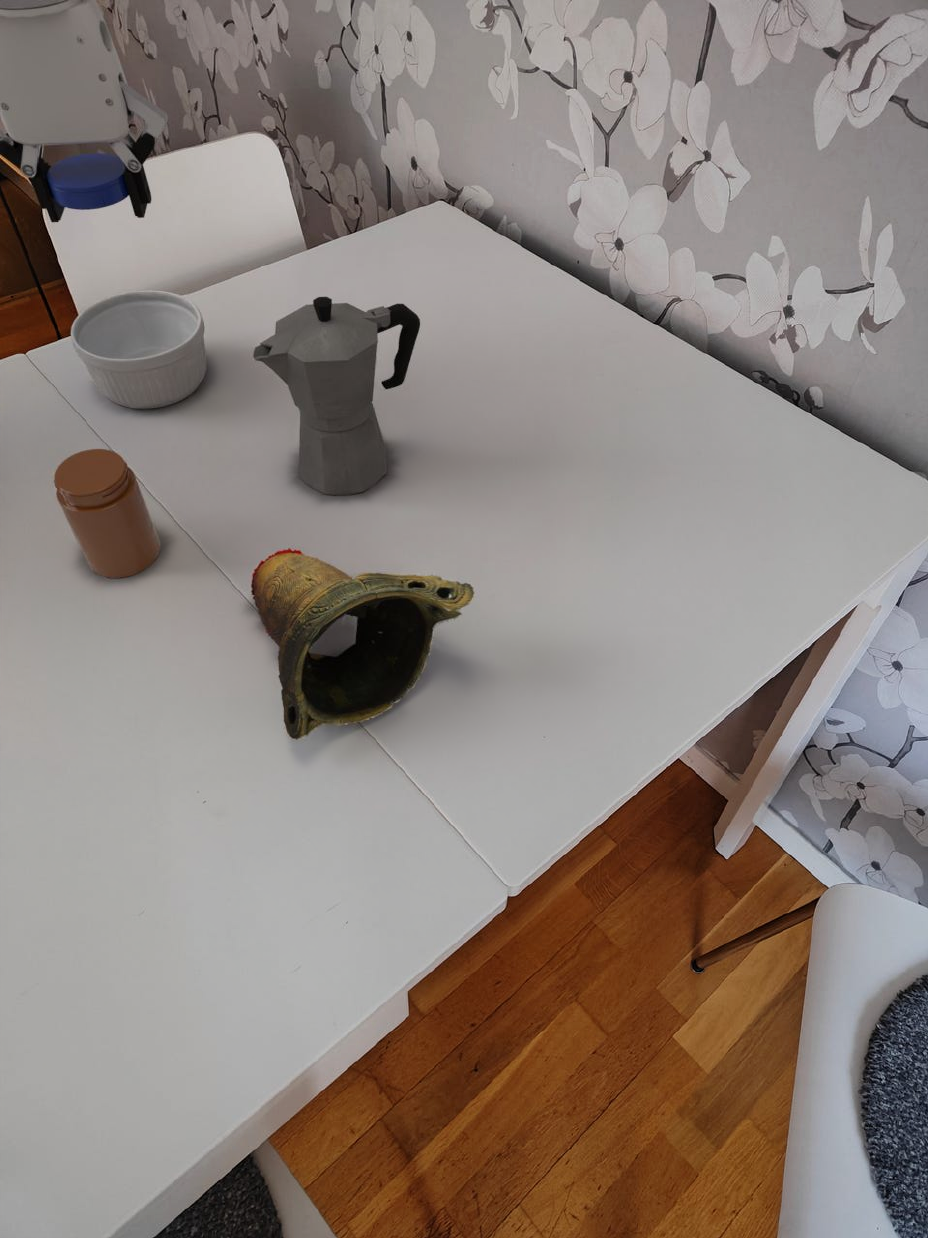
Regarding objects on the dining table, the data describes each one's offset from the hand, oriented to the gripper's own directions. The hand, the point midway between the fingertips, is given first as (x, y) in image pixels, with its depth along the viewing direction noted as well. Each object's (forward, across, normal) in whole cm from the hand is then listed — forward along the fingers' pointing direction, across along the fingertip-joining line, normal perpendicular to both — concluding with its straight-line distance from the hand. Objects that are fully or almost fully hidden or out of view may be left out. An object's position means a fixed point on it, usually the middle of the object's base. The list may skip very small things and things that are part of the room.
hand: (100, 211), depth 80 cm
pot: (+19, -20, +40) cm, 49 cm away
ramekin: (+19, 0, -1) cm, 19 cm away
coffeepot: (+19, -21, +15) cm, 32 cm away
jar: (+19, 0, +25) cm, 31 cm away
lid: (-3, 0, 0) cm, 3 cm away
